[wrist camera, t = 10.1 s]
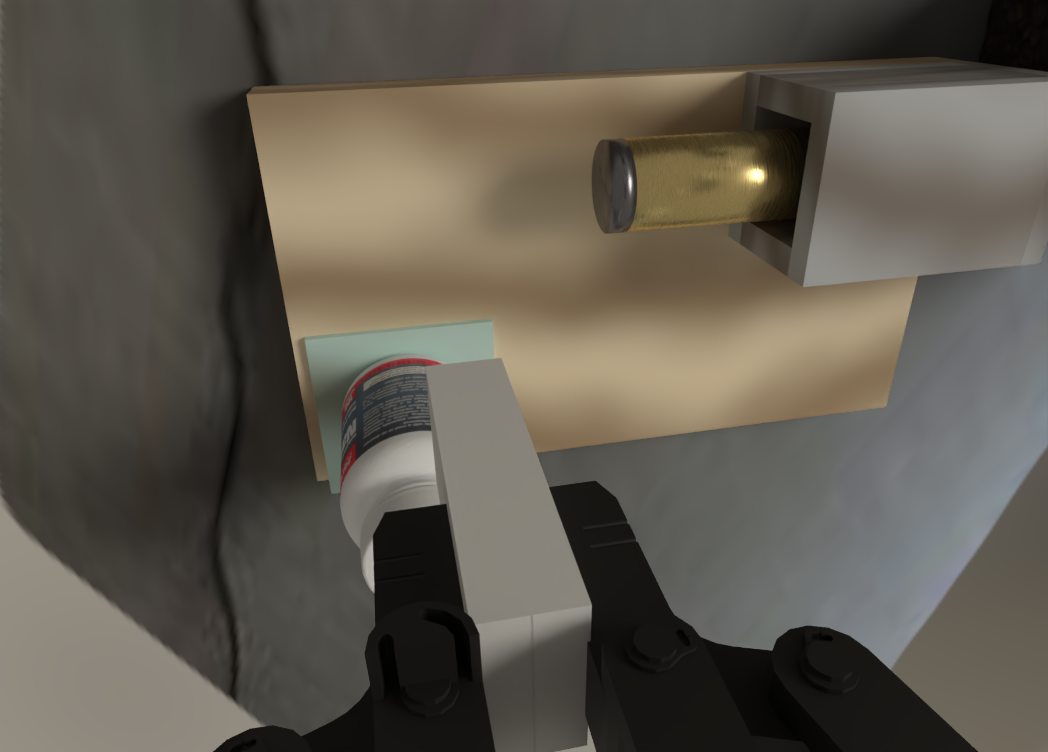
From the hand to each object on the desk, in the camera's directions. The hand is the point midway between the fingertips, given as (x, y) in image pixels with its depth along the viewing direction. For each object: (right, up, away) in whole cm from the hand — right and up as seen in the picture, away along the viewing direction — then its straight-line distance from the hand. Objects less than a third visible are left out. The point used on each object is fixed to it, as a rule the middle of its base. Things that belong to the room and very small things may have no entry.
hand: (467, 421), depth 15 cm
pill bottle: (-3, 0, +15) cm, 15 cm away
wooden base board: (+5, +5, +16) cm, 18 cm away
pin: (+7, +8, +11) cm, 16 cm away
